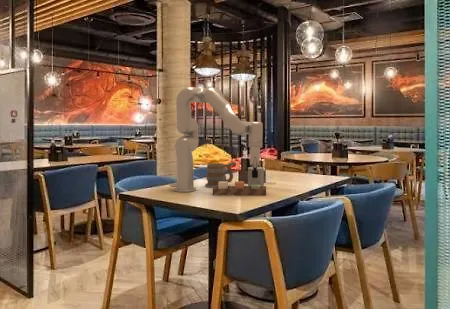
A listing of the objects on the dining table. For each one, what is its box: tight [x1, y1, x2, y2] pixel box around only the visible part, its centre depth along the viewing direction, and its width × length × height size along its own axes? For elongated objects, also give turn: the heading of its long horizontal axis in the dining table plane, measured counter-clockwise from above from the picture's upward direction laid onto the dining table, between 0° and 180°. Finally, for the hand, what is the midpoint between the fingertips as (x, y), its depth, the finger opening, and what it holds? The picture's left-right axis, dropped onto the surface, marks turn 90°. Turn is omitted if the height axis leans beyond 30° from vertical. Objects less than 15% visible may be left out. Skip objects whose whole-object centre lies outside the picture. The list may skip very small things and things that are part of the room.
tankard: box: [204, 161, 237, 189], centre depth 253 cm, size 20×13×15 cm, turn 112°
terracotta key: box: [234, 180, 245, 189], centre depth 227 cm, size 5×5×4 cm
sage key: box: [251, 185, 260, 189], centre depth 226 cm, size 5×5×4 cm
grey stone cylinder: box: [247, 166, 265, 186], centre depth 244 cm, size 10×10×12 cm
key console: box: [211, 185, 267, 196], centre depth 227 cm, size 29×10×4 cm, turn 86°
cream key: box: [218, 181, 229, 188], centre depth 227 cm, size 5×5×4 cm
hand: (254, 177), depth 226 cm, fingers closed
